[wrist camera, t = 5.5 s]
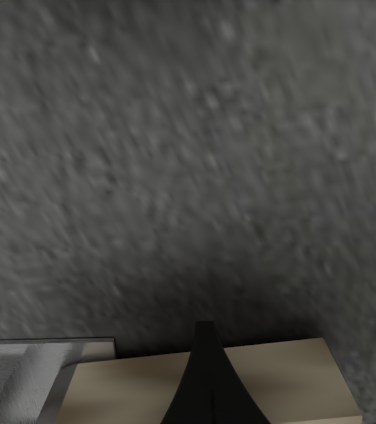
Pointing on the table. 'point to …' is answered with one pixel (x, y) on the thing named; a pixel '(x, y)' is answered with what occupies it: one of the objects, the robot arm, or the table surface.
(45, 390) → the hinge bracket
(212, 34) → the table surface
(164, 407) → the birch leg
